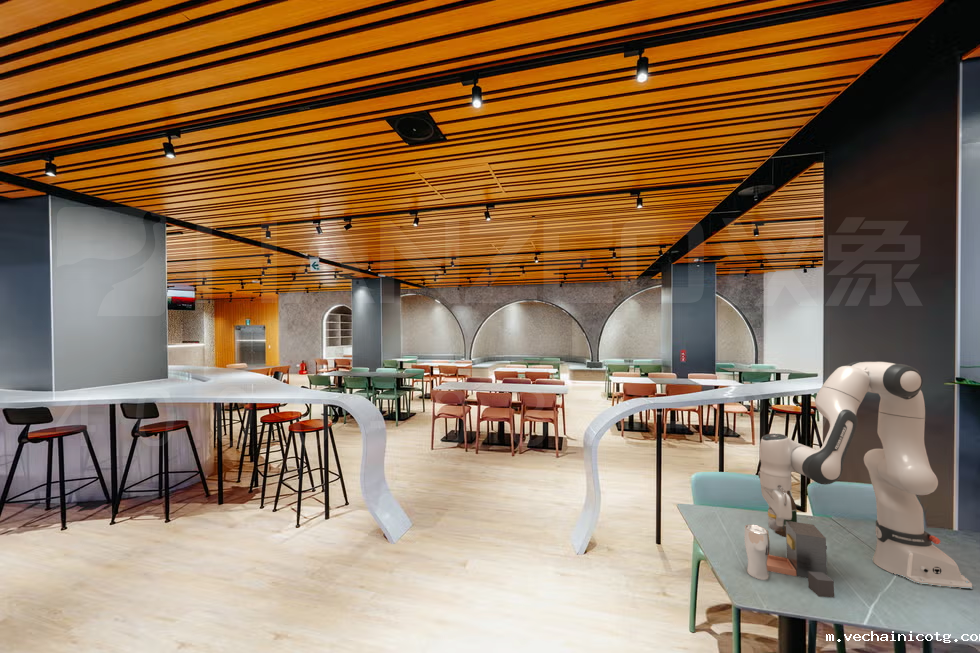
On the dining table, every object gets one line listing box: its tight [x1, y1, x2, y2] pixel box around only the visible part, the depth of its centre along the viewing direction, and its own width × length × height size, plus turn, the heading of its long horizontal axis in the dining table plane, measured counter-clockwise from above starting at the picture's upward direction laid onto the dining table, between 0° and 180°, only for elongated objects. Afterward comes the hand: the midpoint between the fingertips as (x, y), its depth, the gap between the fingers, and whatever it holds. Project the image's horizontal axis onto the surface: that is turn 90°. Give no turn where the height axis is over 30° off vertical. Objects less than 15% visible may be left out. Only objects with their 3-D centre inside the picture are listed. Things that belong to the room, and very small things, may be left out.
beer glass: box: [743, 524, 771, 581], centre depth 128 cm, size 7×7×15 cm
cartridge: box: [767, 507, 784, 532], centre depth 133 cm, size 5×5×6 cm
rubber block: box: [807, 571, 835, 599], centre depth 119 cm, size 4×4×5 cm
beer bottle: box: [774, 490, 798, 538], centre depth 156 cm, size 8×8×24 cm
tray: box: [767, 554, 797, 577], centre depth 132 cm, size 8×8×2 cm
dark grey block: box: [785, 521, 828, 579], centre depth 130 cm, size 9×10×14 cm
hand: (776, 521), depth 133 cm, fingers closed on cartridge, 5 cm apart
